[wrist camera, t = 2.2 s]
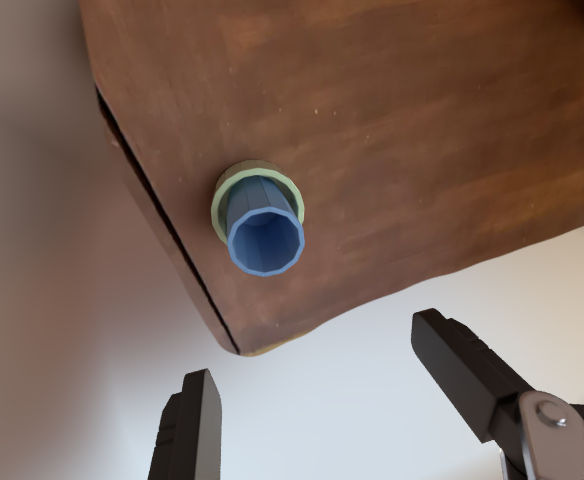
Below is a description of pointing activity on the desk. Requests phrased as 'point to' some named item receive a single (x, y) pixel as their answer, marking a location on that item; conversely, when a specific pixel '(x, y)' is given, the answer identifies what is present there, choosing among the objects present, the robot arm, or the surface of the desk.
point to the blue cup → (262, 227)
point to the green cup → (245, 170)
